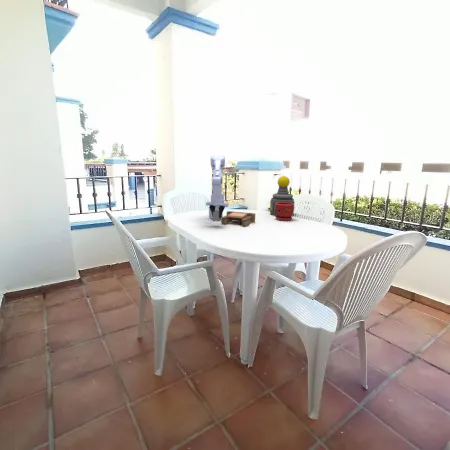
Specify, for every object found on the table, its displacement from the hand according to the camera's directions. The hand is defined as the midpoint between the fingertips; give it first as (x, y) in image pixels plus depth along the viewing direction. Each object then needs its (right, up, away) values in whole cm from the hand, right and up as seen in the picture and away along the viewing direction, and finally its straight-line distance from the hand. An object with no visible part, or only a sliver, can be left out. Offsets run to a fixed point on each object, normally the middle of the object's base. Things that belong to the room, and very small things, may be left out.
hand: (217, 217), depth 174 cm
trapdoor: (+13, +1, +10) cm, 17 cm away
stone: (0, -2, 0) cm, 2 cm away
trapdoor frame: (+13, -4, +11) cm, 18 cm away
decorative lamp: (+50, +3, +42) cm, 65 cm away
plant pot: (+48, -1, +24) cm, 53 cm away
